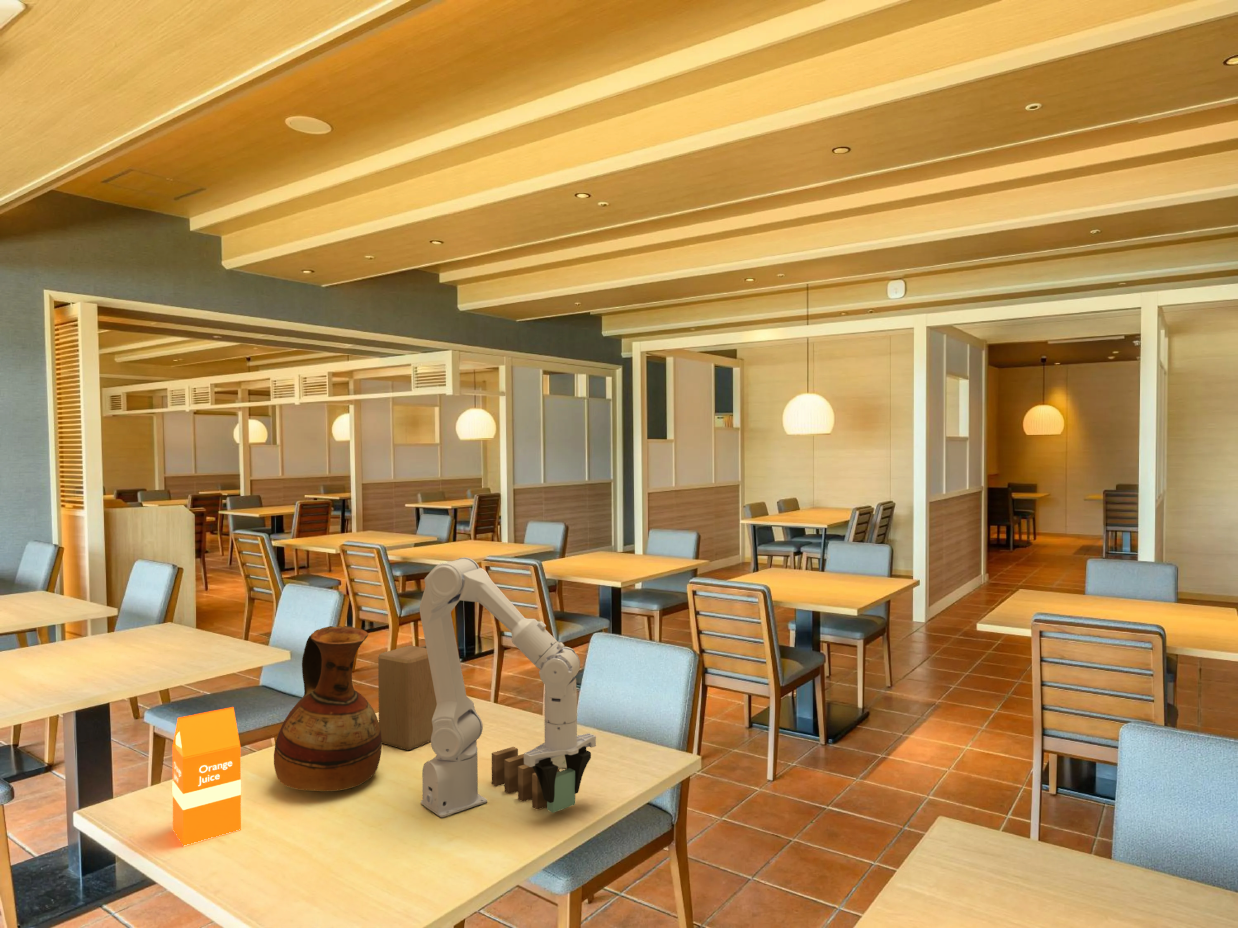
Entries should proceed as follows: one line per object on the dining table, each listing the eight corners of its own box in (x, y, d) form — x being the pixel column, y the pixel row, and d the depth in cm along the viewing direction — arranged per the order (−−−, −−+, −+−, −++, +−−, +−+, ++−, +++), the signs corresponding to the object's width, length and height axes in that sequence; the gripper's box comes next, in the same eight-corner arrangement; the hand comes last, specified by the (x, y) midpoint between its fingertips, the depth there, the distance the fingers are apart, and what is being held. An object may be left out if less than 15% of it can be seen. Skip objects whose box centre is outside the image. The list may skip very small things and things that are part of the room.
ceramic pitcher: (311, 813, 137) (310, 644, 137) (252, 785, 149) (252, 630, 149) (402, 777, 153) (402, 625, 153) (343, 754, 165) (342, 614, 165)
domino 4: (537, 809, 138) (537, 776, 138) (532, 806, 139) (532, 773, 139) (559, 801, 142) (559, 768, 142) (554, 798, 143) (554, 766, 143)
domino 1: (496, 786, 148) (496, 755, 148) (491, 783, 150) (491, 752, 150) (518, 779, 152) (517, 748, 152) (513, 776, 153) (513, 746, 153)
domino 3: (523, 801, 142) (522, 768, 142) (518, 798, 143) (517, 766, 143) (545, 793, 145) (545, 761, 145) (540, 791, 146) (540, 759, 146)
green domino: (552, 812, 135) (552, 778, 135) (547, 809, 136) (547, 775, 136) (575, 804, 138) (575, 770, 138) (569, 801, 139) (569, 767, 139)
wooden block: (442, 737, 175) (441, 649, 175) (408, 752, 166) (408, 658, 166) (411, 730, 180) (410, 643, 180) (376, 743, 171) (376, 653, 171)
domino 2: (509, 793, 145) (509, 761, 145) (504, 791, 146) (504, 759, 146) (531, 786, 148) (531, 755, 148) (526, 783, 150) (526, 752, 150)
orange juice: (241, 829, 131) (240, 711, 131) (183, 847, 125) (182, 723, 125) (228, 814, 137) (227, 701, 137) (172, 830, 131) (171, 712, 131)
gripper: (540, 734, 129) (540, 816, 129) (606, 715, 139) (606, 791, 139) (516, 724, 135) (517, 802, 135) (581, 706, 144) (582, 779, 144)
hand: (561, 795), depth 137 cm, fingers closed on green domino, 5 cm apart
